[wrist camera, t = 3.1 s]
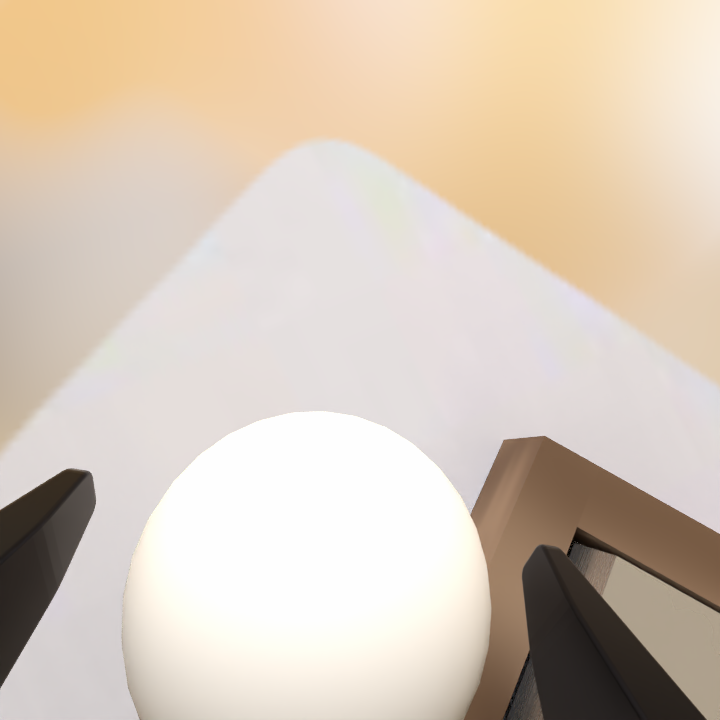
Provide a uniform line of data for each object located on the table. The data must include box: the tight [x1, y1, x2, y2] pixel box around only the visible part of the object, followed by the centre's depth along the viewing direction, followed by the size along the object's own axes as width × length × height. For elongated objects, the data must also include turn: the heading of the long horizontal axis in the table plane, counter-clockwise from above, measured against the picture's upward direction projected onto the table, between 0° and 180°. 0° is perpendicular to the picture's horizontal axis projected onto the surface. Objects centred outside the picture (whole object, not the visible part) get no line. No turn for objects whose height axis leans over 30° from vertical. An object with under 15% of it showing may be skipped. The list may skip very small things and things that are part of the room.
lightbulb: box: [122, 411, 491, 720], centre depth 11 cm, size 6×6×11 cm
